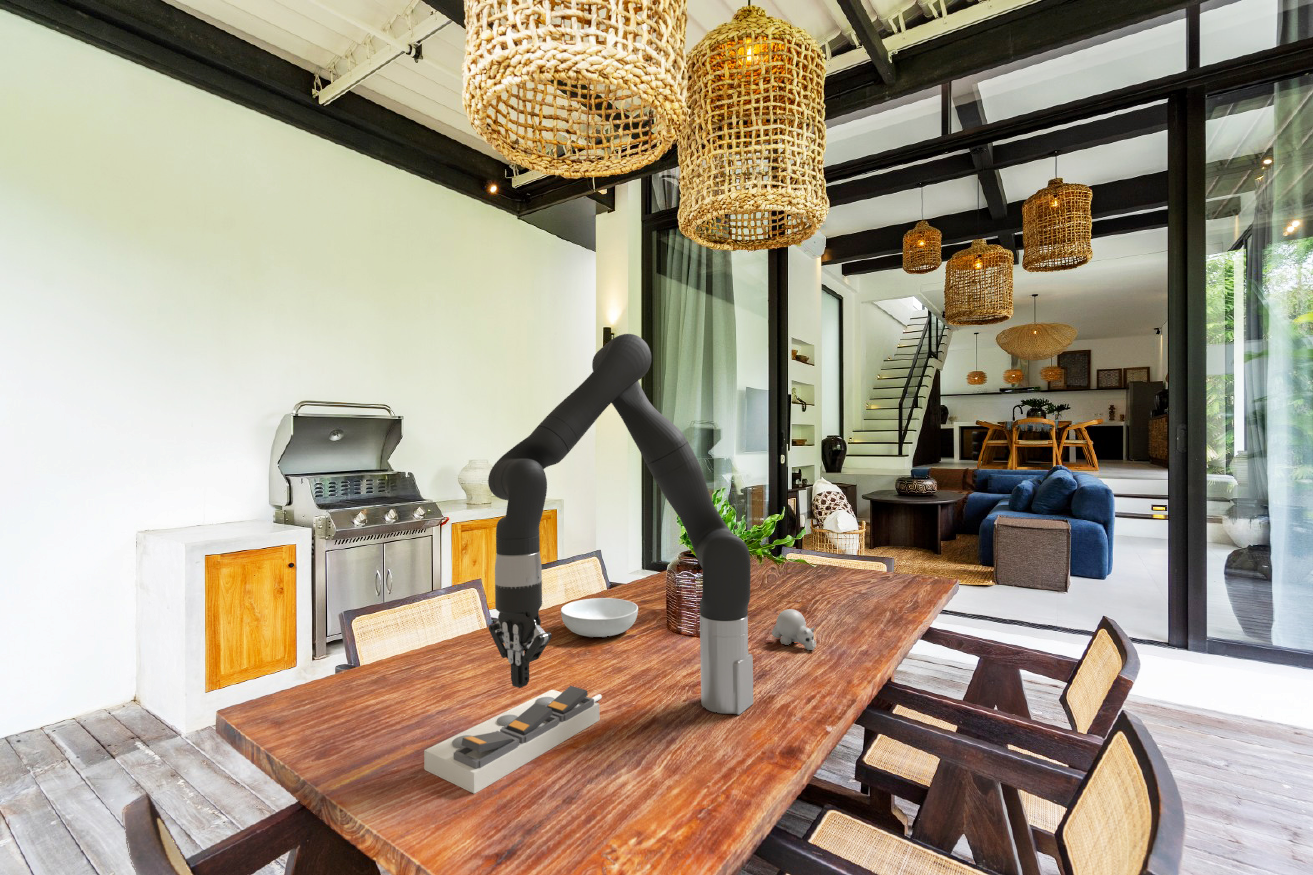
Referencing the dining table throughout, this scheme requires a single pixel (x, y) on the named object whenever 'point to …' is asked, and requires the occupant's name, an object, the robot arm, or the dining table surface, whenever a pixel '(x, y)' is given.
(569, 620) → the serving bowl
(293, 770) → the dining table surface
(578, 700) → the rocker near cord
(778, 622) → the chubby cartoon animal
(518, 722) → the middle rocker
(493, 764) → the power strip
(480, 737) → the rocker far end
